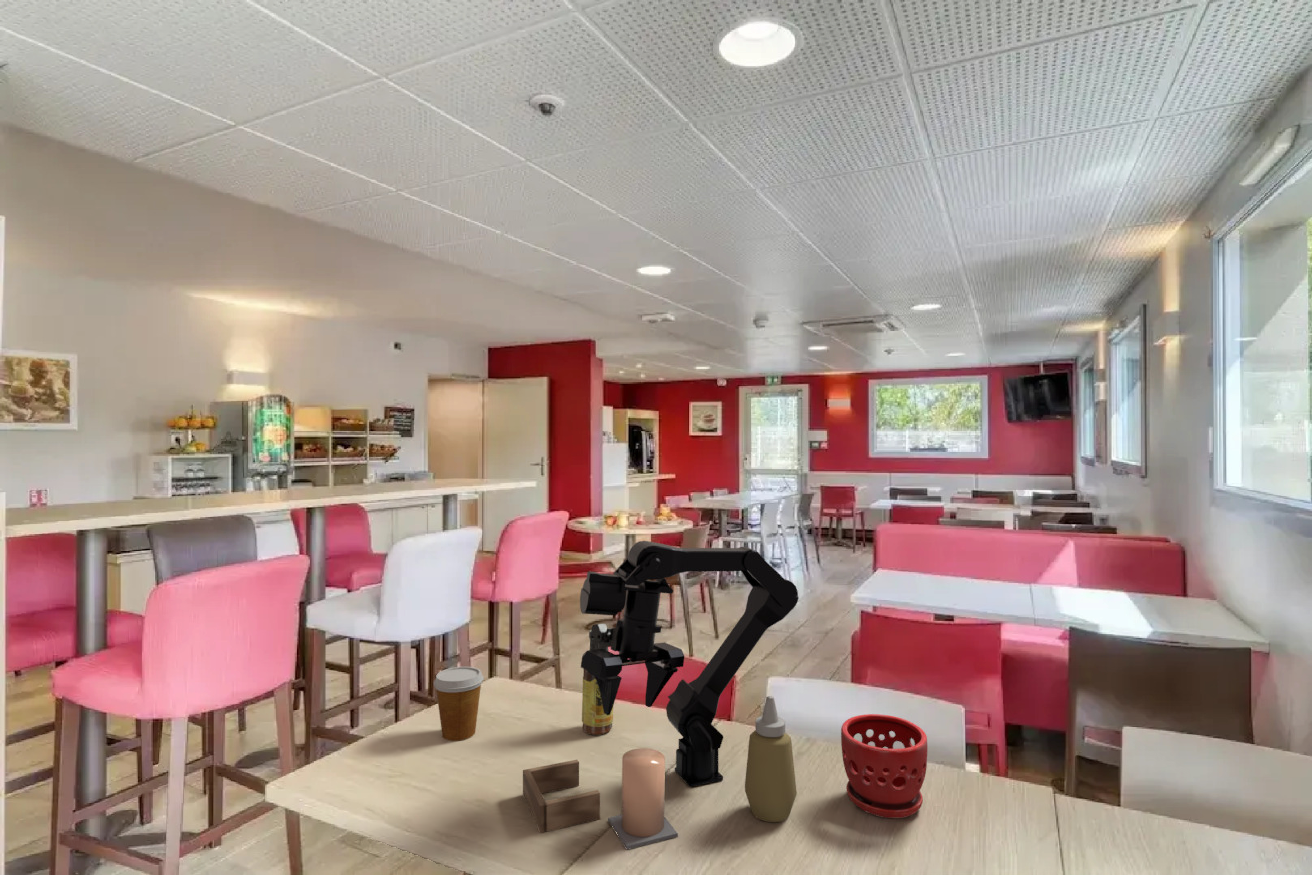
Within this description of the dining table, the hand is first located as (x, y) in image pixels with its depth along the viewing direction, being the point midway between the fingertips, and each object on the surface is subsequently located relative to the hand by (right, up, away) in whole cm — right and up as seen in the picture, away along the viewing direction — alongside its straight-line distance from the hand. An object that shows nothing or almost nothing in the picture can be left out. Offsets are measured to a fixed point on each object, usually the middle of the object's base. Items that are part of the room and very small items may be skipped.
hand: (627, 710), depth 114 cm
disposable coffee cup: (-34, -13, +21) cm, 42 cm away
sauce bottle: (-7, -13, +23) cm, 27 cm away
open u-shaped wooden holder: (-10, -13, -6) cm, 18 cm away
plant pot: (+41, -13, -5) cm, 43 cm away
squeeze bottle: (+23, -13, -8) cm, 27 cm away
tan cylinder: (+3, -12, -12) cm, 17 cm away
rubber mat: (+3, -13, -12) cm, 18 cm away
